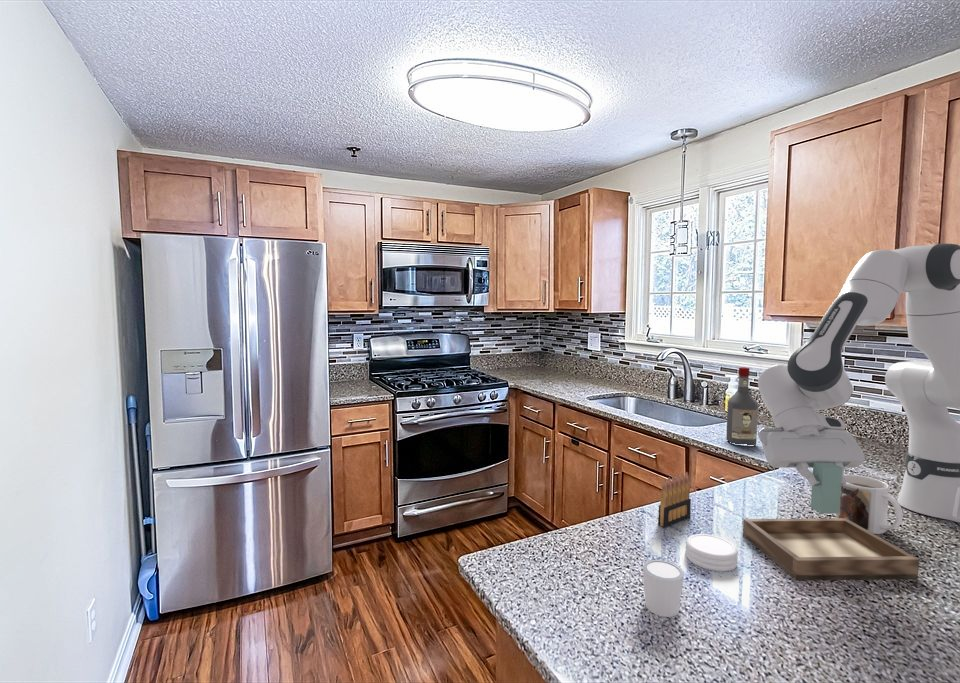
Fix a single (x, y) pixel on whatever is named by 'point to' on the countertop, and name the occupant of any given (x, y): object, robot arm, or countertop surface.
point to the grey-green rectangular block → (827, 488)
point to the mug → (868, 503)
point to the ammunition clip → (674, 501)
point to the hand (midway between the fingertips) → (828, 484)
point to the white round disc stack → (711, 552)
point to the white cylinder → (662, 587)
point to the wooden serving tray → (829, 549)
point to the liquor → (742, 413)
